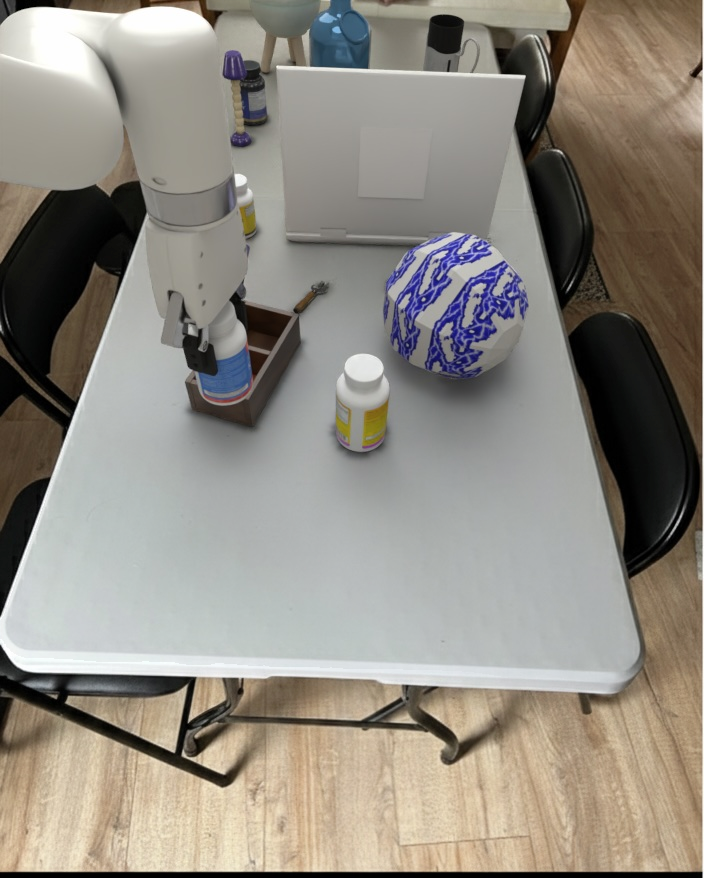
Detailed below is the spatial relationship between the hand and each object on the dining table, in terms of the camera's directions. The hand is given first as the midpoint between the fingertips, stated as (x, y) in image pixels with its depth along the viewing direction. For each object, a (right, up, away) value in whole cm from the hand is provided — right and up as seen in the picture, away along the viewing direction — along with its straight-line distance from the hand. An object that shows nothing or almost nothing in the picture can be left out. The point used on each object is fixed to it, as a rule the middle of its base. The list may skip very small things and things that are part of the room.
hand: (218, 347), depth 65 cm
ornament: (+28, +3, +28) cm, 39 cm away
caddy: (-1, 0, +24) cm, 24 cm away
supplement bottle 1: (-6, +27, +45) cm, 53 cm away
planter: (-2, +80, +86) cm, 117 cm away
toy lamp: (-9, +53, +65) cm, 84 cm away
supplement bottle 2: (+15, -9, +18) cm, 25 cm away
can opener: (+7, +13, +35) cm, 38 cm away
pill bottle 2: (-8, +60, +70) cm, 93 cm away
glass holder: (+36, +70, +79) cm, 112 cm away
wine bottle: (+11, +67, +76) cm, 102 cm away
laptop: (+20, +34, +52) cm, 65 cm away
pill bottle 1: (0, -4, +5) cm, 6 cm away
